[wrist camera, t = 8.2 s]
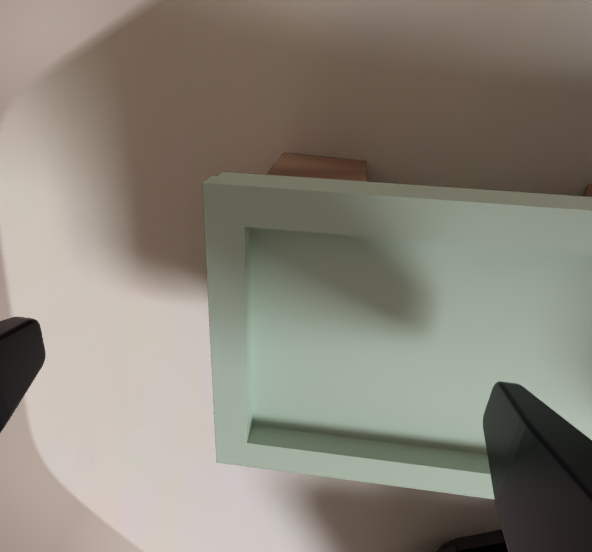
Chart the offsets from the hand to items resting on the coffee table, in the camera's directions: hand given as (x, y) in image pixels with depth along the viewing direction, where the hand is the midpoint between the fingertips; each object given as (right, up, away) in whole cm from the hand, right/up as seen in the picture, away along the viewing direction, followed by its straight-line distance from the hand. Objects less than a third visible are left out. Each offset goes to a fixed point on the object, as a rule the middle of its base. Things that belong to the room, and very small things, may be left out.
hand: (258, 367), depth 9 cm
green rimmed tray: (+9, 0, +1) cm, 9 cm away
